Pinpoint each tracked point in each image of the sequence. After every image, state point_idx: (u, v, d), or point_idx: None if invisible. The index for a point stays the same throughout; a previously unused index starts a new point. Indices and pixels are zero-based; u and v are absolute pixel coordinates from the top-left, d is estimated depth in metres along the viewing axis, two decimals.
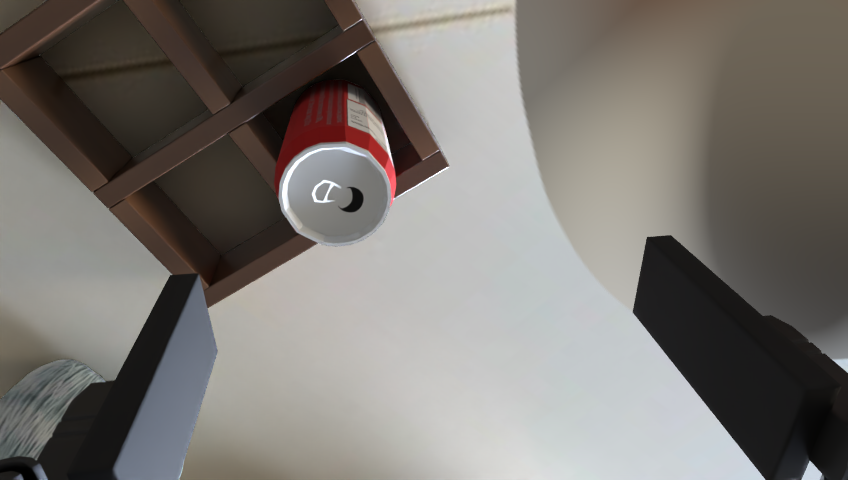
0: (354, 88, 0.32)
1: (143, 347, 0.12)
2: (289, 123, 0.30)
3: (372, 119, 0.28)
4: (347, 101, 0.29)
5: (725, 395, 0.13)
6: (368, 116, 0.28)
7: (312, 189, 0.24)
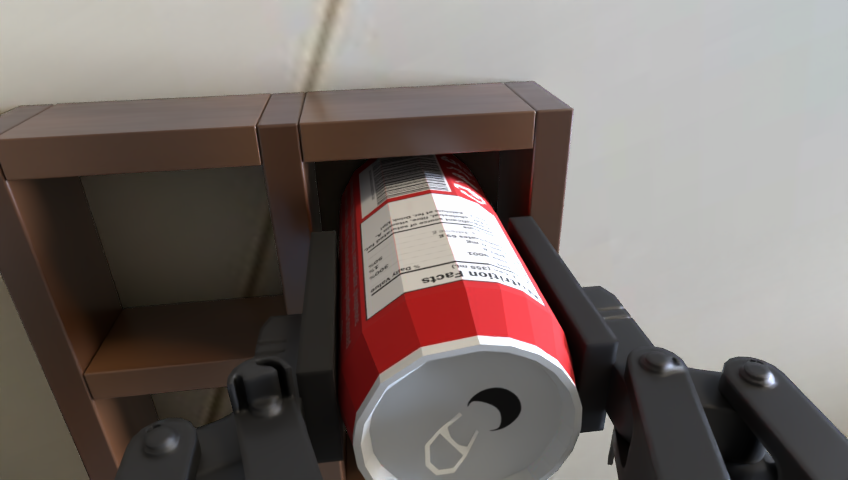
0: (368, 173, 0.19)
1: (315, 285, 0.15)
2: None
3: (407, 218, 0.15)
4: (361, 230, 0.16)
5: None
6: (396, 226, 0.15)
7: (433, 453, 0.12)
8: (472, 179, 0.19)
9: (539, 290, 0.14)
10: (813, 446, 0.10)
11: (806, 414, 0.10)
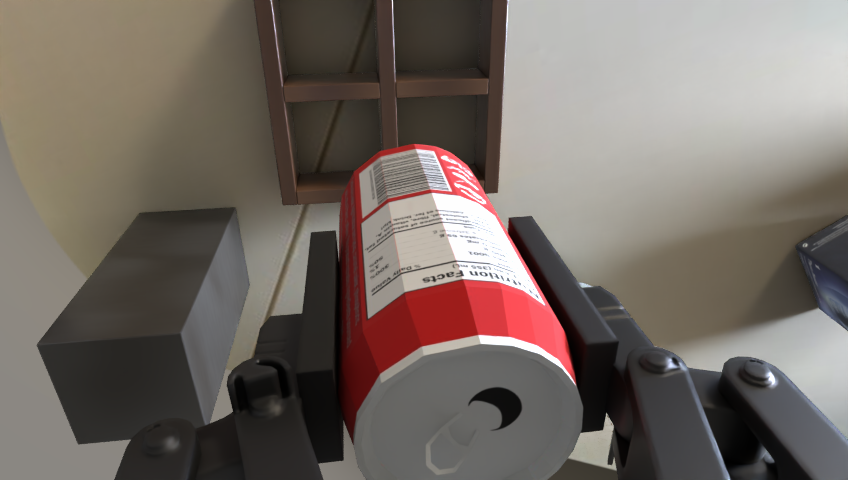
0: (368, 173, 0.19)
1: (314, 286, 0.15)
2: None
3: (407, 218, 0.15)
4: (361, 230, 0.16)
5: None
6: (397, 226, 0.15)
7: (433, 453, 0.12)
8: (472, 179, 0.19)
9: (540, 290, 0.14)
10: (813, 446, 0.10)
11: (805, 414, 0.10)
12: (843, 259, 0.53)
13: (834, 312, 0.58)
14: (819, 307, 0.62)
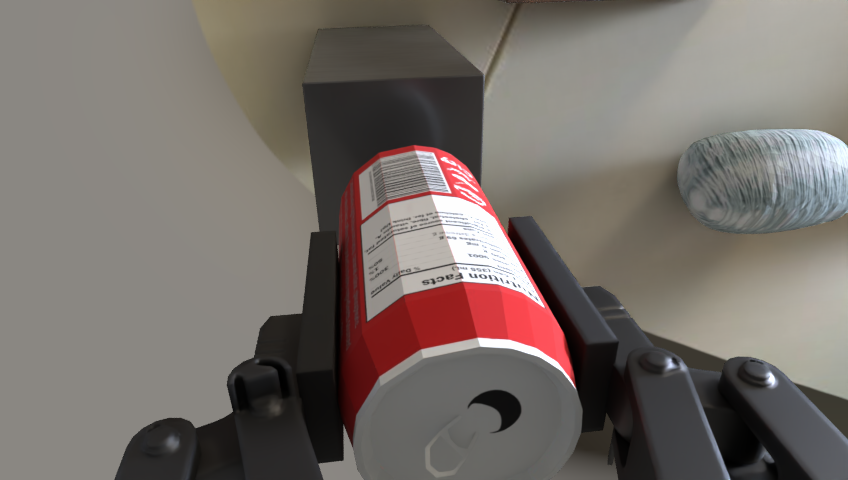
0: (368, 175, 0.19)
1: (315, 285, 0.15)
2: None
3: (407, 220, 0.15)
4: (361, 232, 0.16)
5: None
6: (396, 228, 0.15)
7: (433, 456, 0.12)
8: (472, 180, 0.19)
9: (539, 292, 0.14)
10: (813, 446, 0.10)
11: (805, 414, 0.10)
12: None
13: None
14: None
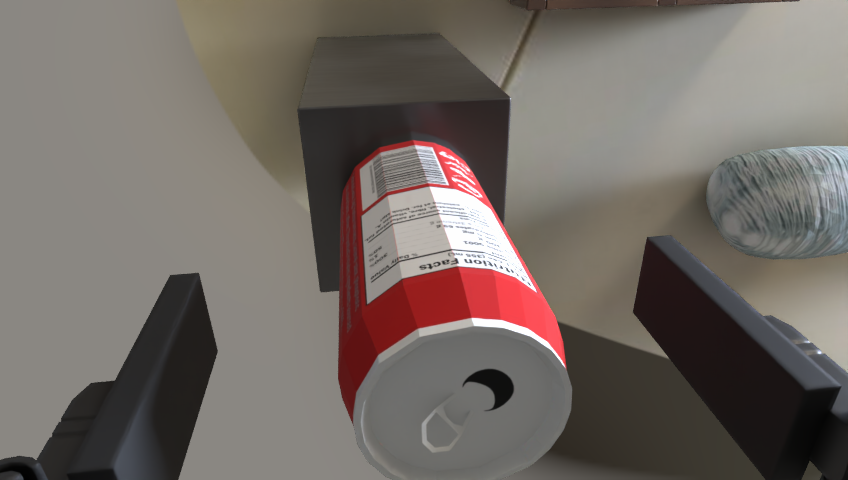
0: (369, 168, 0.20)
1: (143, 347, 0.12)
2: None
3: (405, 210, 0.16)
4: (362, 222, 0.17)
5: (725, 394, 0.13)
6: (395, 217, 0.15)
7: (430, 432, 0.13)
8: (470, 174, 0.20)
9: (532, 278, 0.15)
10: None
11: None
12: None
13: None
14: None
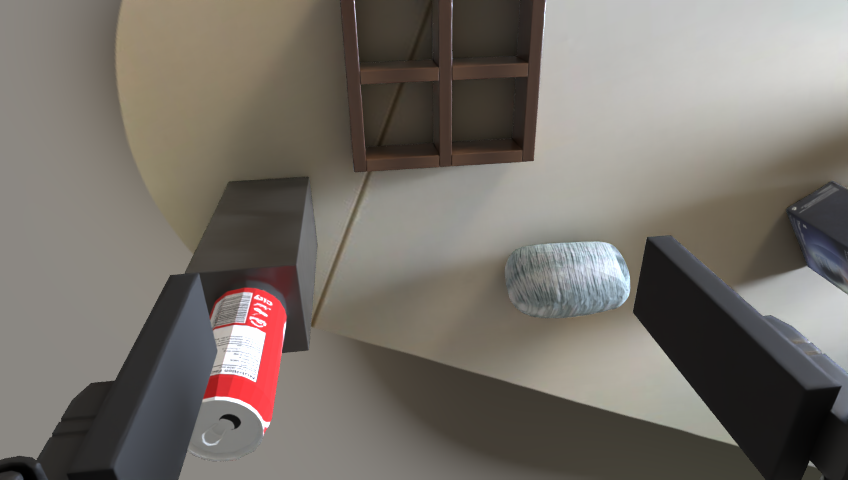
0: (218, 305, 0.40)
1: (143, 347, 0.12)
2: None
3: (217, 340, 0.36)
4: None
5: (725, 395, 0.13)
6: None
7: (210, 438, 0.33)
8: (269, 308, 0.40)
9: (265, 372, 0.35)
10: None
11: None
12: (826, 218, 0.62)
13: (820, 267, 0.67)
14: (807, 265, 0.70)
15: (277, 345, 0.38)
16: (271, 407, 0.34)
